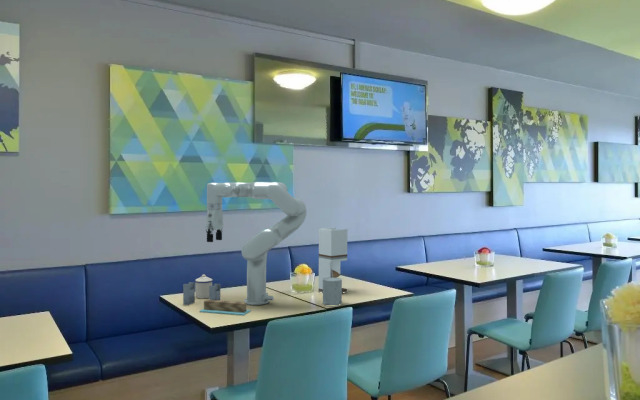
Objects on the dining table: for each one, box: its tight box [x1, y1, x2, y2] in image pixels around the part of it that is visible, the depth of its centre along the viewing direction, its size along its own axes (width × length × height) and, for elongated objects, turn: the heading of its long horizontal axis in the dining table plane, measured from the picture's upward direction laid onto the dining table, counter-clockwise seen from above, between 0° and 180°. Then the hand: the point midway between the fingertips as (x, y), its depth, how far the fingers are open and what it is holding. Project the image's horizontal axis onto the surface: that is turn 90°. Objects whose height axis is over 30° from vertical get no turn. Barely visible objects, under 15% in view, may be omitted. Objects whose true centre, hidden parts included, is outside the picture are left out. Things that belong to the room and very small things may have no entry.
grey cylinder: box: [322, 277, 343, 306], centre depth 250 cm, size 10×10×12 cm
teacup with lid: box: [194, 274, 214, 300], centre depth 265 cm, size 12×9×12 cm
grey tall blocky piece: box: [318, 227, 348, 294], centre depth 276 cm, size 11×11×35 cm
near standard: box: [208, 283, 221, 300], centre depth 245 cm, size 3×6×10 cm, turn 165°
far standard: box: [182, 281, 196, 306], centre depth 249 cm, size 3×6×10 cm, turn 165°
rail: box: [203, 299, 247, 313], centre depth 234 cm, size 20×3×4 cm, turn 75°
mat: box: [198, 308, 252, 316], centre depth 234 cm, size 22×8×1 cm, turn 75°
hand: (214, 240), depth 255 cm, fingers open, 9 cm apart
